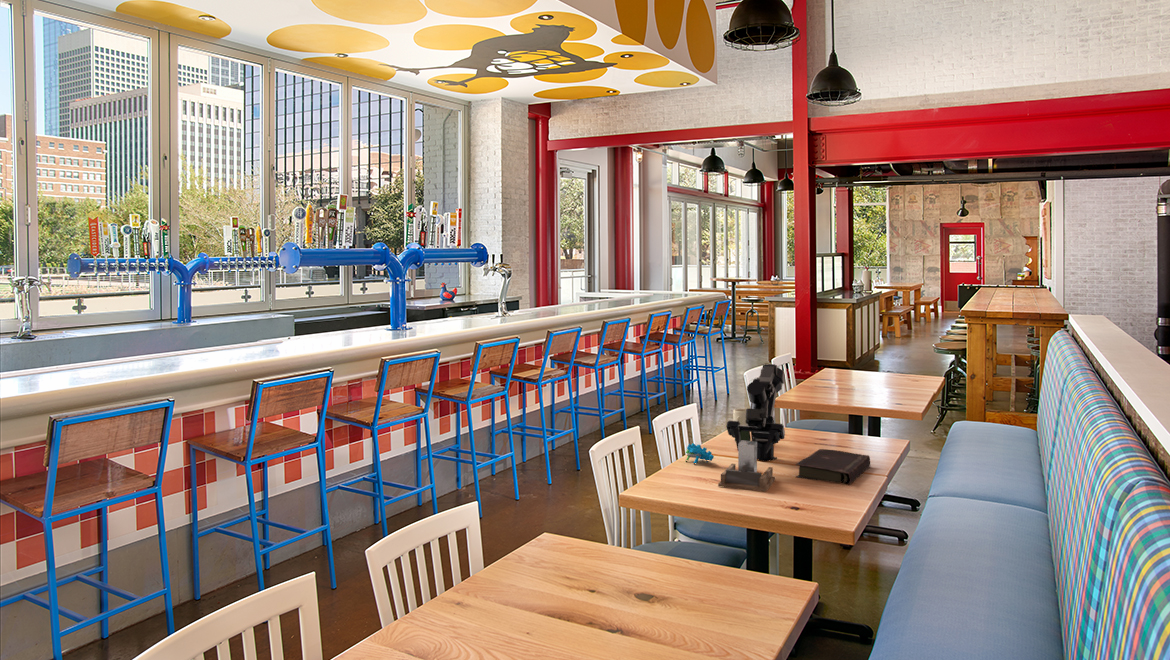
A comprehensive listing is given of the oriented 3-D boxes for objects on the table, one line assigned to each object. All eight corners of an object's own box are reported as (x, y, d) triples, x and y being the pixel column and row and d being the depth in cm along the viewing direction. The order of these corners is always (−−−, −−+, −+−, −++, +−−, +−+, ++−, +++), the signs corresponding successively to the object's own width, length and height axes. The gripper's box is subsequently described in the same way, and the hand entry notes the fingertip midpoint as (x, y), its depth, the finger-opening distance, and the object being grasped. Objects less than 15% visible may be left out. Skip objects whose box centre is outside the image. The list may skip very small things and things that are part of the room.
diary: (870, 469, 261) (871, 454, 260) (850, 488, 240) (851, 472, 239) (816, 461, 271) (816, 447, 270) (792, 478, 250) (793, 463, 250)
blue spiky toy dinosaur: (719, 459, 269) (703, 442, 264) (713, 473, 266) (696, 456, 262) (697, 457, 277) (681, 441, 273) (690, 471, 275) (674, 454, 270)
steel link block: (741, 476, 249) (741, 440, 248) (757, 477, 247) (757, 441, 246) (738, 480, 244) (738, 443, 243) (754, 482, 242) (754, 444, 241)
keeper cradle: (729, 475, 254) (729, 454, 253) (775, 479, 248) (775, 458, 247) (718, 486, 241) (718, 464, 241) (765, 491, 235) (765, 469, 234)
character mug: (746, 446, 292) (746, 413, 291) (728, 444, 296) (728, 411, 295) (756, 440, 301) (756, 408, 300) (739, 438, 305) (739, 406, 304)
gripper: (727, 397, 258) (720, 436, 249) (783, 399, 251) (778, 440, 242) (732, 415, 266) (725, 454, 257) (787, 418, 259) (782, 458, 250)
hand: (752, 451), depth 251 cm, fingers open, 9 cm apart
